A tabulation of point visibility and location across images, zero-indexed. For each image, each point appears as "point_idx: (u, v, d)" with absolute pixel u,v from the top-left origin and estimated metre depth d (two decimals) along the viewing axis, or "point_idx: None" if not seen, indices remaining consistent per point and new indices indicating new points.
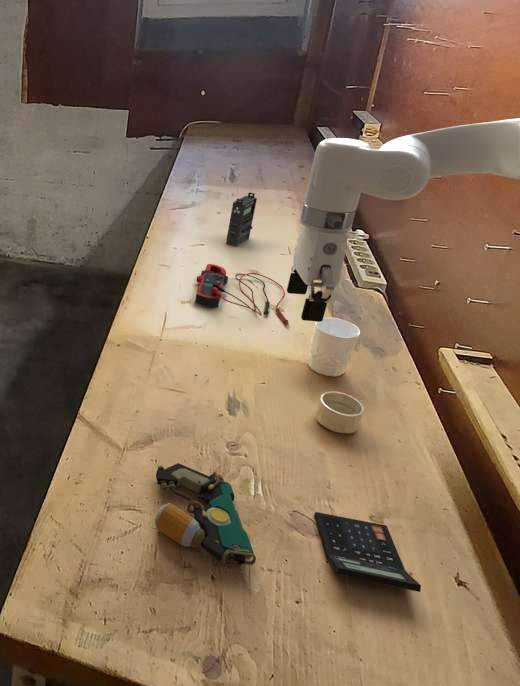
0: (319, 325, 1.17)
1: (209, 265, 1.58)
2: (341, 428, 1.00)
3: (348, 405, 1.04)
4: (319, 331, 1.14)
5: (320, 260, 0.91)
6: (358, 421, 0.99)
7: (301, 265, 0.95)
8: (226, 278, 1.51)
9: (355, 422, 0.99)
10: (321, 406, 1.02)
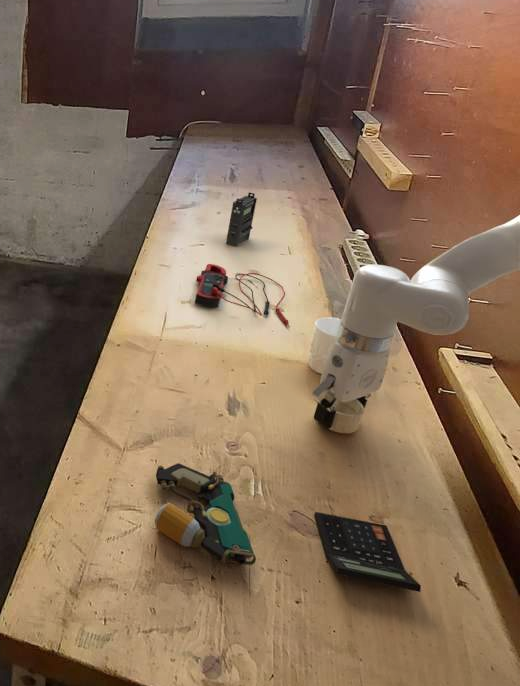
0: (319, 325, 1.17)
1: (209, 265, 1.58)
2: (341, 428, 1.00)
3: (348, 405, 1.04)
4: (319, 331, 1.14)
5: (328, 368, 0.97)
6: (358, 421, 0.99)
7: None
8: (226, 278, 1.51)
9: (355, 422, 0.99)
10: None
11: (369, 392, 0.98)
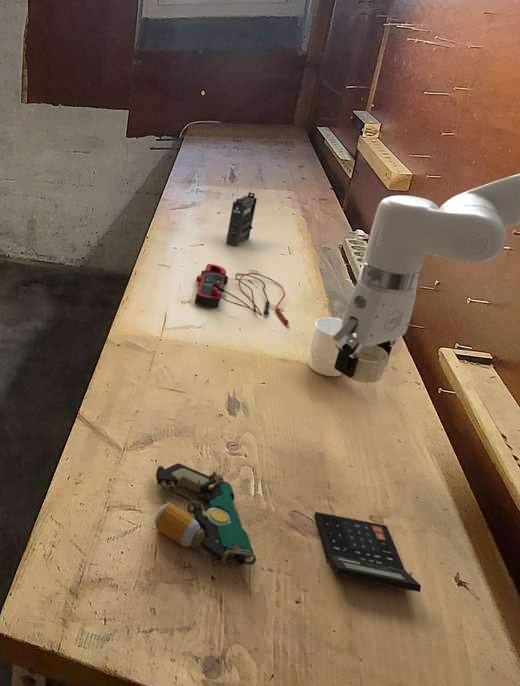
0: (319, 325, 1.17)
1: (209, 265, 1.58)
2: (364, 376, 0.93)
3: (371, 354, 0.97)
4: (318, 331, 1.14)
5: (350, 310, 0.90)
6: (383, 369, 0.93)
7: None
8: (226, 278, 1.51)
9: (379, 370, 0.92)
10: None
11: (394, 337, 0.91)
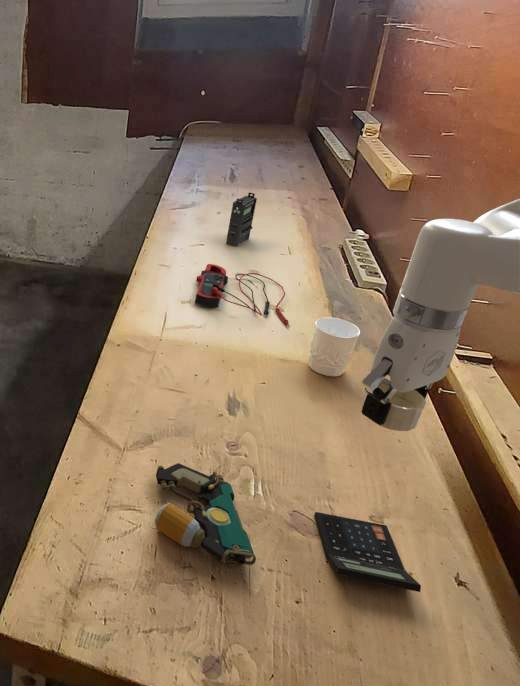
0: (319, 325, 1.17)
1: (209, 265, 1.58)
2: (397, 424, 0.81)
3: (403, 397, 0.85)
4: (319, 331, 1.14)
5: (383, 350, 0.78)
6: (418, 416, 0.80)
7: None
8: (226, 278, 1.51)
9: (415, 417, 0.80)
10: None
11: (433, 380, 0.79)
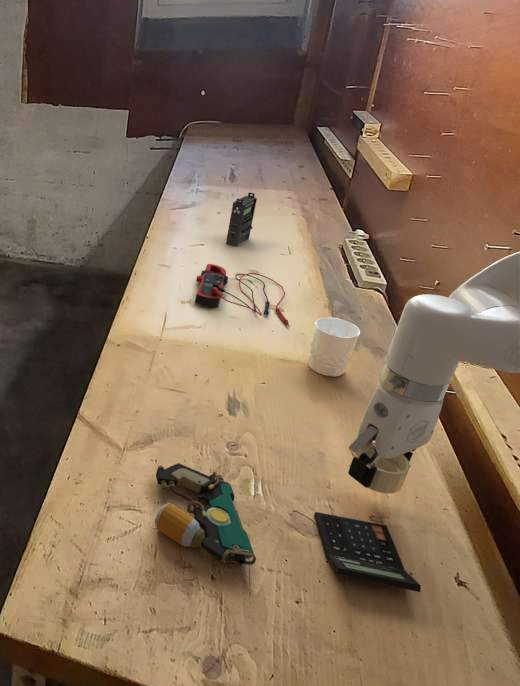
0: (319, 325, 1.17)
1: (209, 265, 1.58)
2: (382, 487, 0.83)
3: None
4: (319, 331, 1.14)
5: (369, 417, 0.80)
6: (403, 479, 0.83)
7: None
8: (226, 278, 1.51)
9: (399, 481, 0.83)
10: None
11: (417, 446, 0.81)
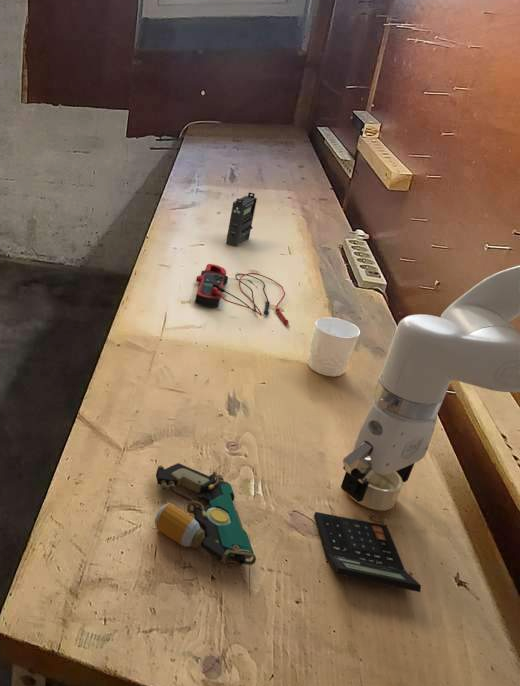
0: (319, 325, 1.17)
1: (209, 265, 1.58)
2: (376, 504, 0.85)
3: None
4: (319, 331, 1.14)
5: (364, 434, 0.82)
6: (396, 497, 0.85)
7: None
8: (226, 278, 1.51)
9: (392, 498, 0.84)
10: None
11: (412, 462, 0.83)
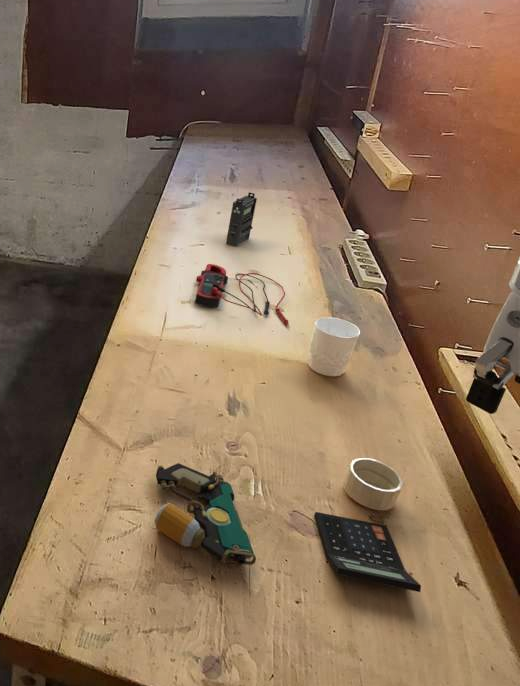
0: (319, 325, 1.17)
1: (209, 265, 1.58)
2: (376, 504, 0.85)
3: (382, 474, 0.89)
4: (319, 331, 1.14)
5: (500, 330, 0.69)
6: (396, 497, 0.85)
7: None
8: (226, 278, 1.51)
9: (392, 498, 0.84)
10: (351, 477, 0.87)
11: None
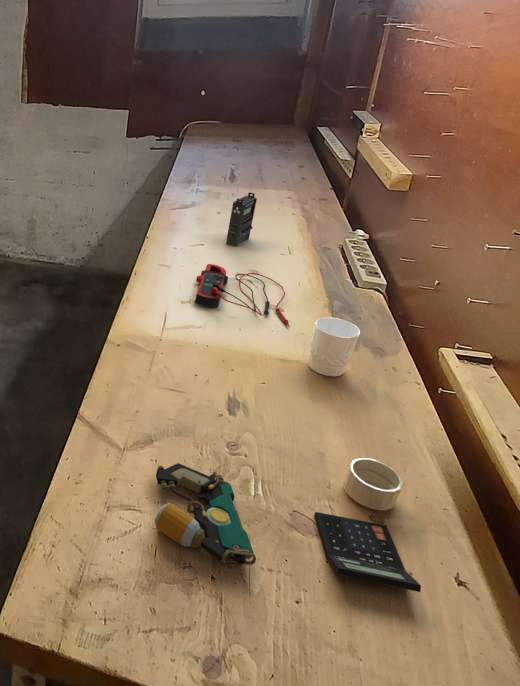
0: (319, 325, 1.17)
1: (209, 265, 1.58)
2: (376, 504, 0.85)
3: (382, 474, 0.89)
4: (319, 331, 1.14)
5: None
6: (396, 497, 0.85)
7: None
8: (226, 278, 1.51)
9: (392, 498, 0.84)
10: (351, 477, 0.87)
11: None
